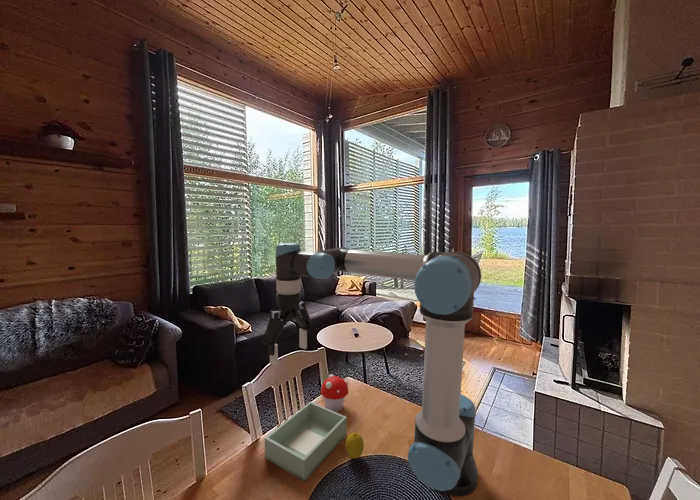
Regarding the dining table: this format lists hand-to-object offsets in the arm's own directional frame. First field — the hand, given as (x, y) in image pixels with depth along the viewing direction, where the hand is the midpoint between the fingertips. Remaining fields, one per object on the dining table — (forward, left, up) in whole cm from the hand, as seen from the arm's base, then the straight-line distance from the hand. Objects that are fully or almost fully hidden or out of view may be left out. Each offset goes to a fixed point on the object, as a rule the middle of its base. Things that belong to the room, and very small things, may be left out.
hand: (289, 355), depth 99 cm
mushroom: (-4, -20, -28) cm, 35 cm away
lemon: (-23, -3, -28) cm, 37 cm away
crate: (-8, +1, -28) cm, 29 cm away
